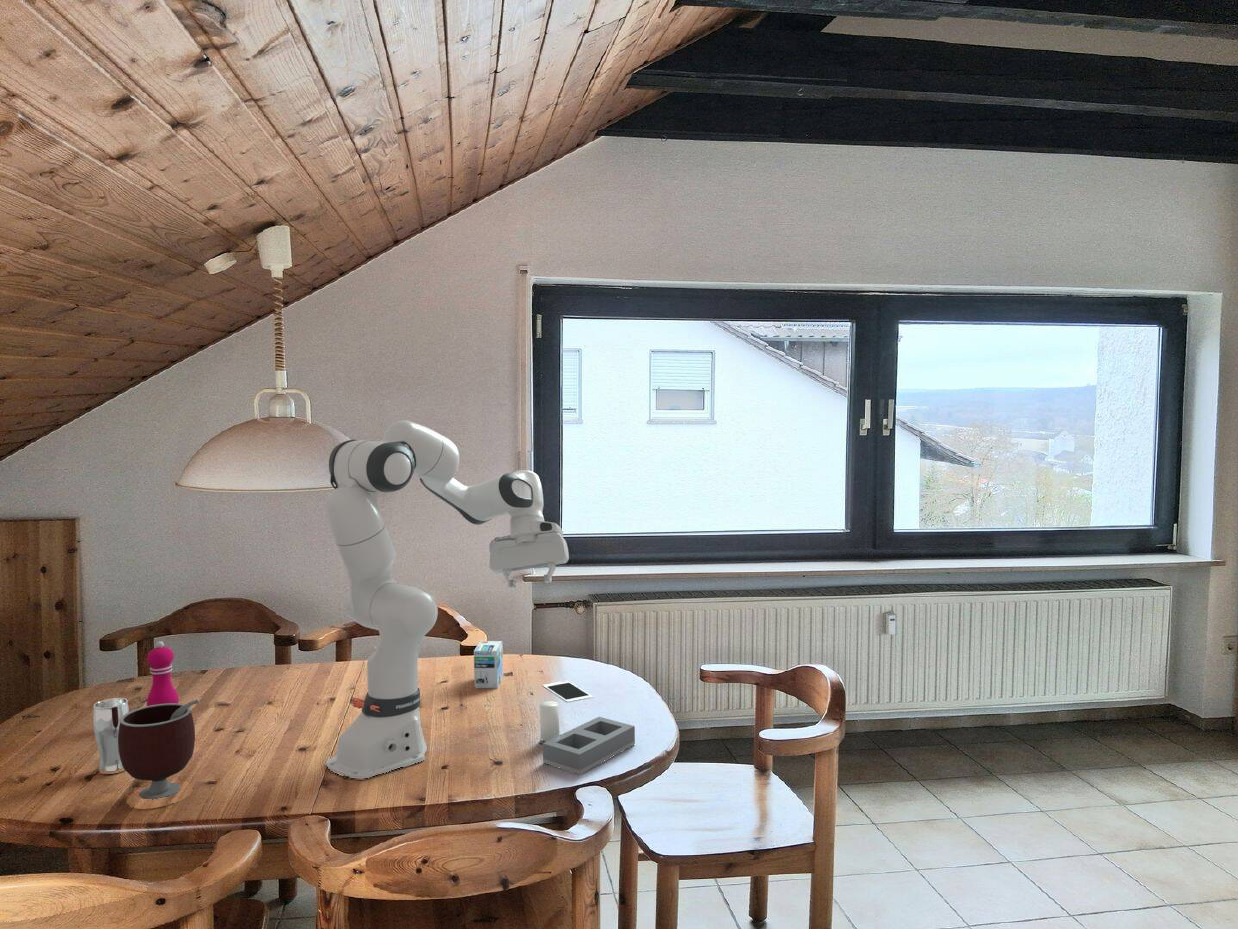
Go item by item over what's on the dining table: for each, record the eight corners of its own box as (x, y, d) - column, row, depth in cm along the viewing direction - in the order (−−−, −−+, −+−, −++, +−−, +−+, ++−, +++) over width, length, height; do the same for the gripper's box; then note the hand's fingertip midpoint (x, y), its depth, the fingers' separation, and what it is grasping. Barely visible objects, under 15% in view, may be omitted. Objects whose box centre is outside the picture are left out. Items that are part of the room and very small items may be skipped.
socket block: (580, 775, 189) (579, 754, 189) (543, 763, 196) (542, 743, 195) (634, 745, 205) (634, 726, 205) (599, 735, 212) (598, 716, 211)
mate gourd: (106, 812, 175) (101, 712, 173) (144, 781, 189) (139, 689, 187) (185, 811, 175) (180, 711, 173) (217, 780, 189) (212, 688, 187)
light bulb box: (498, 689, 246) (497, 650, 246) (473, 689, 247) (472, 651, 246) (503, 677, 257) (503, 640, 256) (480, 677, 257) (479, 640, 256)
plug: (550, 747, 205) (550, 709, 204) (536, 743, 207) (535, 705, 207) (563, 741, 208) (562, 703, 208) (549, 737, 211) (548, 700, 210)
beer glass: (108, 763, 199) (104, 697, 197) (139, 763, 198) (135, 697, 197) (88, 776, 192) (85, 708, 190) (120, 776, 191) (116, 708, 190)
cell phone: (567, 682, 253) (567, 680, 253) (593, 698, 239) (593, 696, 239) (542, 687, 249) (542, 685, 249) (567, 704, 235) (567, 701, 235)
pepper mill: (151, 725, 221) (147, 646, 220) (144, 718, 227) (140, 641, 225) (183, 718, 226) (179, 641, 224) (174, 711, 231) (171, 635, 230)
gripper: (484, 534, 226) (486, 587, 220) (561, 522, 222) (565, 575, 217) (493, 542, 232) (495, 593, 226) (568, 530, 228) (572, 582, 222)
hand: (529, 584), depth 221 cm, fingers open, 8 cm apart
